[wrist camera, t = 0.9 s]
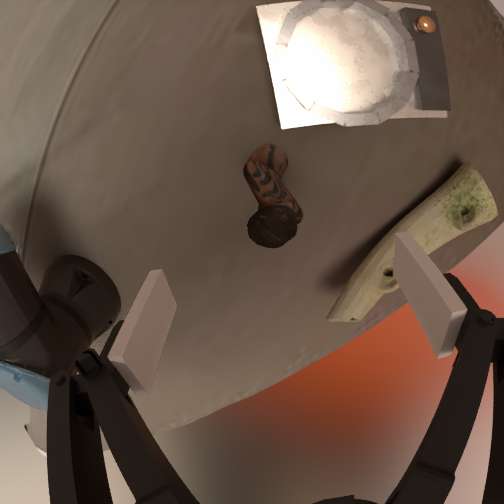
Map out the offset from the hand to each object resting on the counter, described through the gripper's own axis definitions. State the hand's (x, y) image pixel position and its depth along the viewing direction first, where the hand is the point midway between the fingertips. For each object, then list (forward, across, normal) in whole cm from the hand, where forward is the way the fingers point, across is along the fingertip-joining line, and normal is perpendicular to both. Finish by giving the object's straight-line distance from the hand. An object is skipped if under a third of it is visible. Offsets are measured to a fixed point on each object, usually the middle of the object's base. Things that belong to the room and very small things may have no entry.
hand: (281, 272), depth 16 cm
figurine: (+23, 0, 0) cm, 23 cm away
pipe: (+23, +17, -12) cm, 31 cm away
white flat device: (+22, +12, +12) cm, 28 cm away
